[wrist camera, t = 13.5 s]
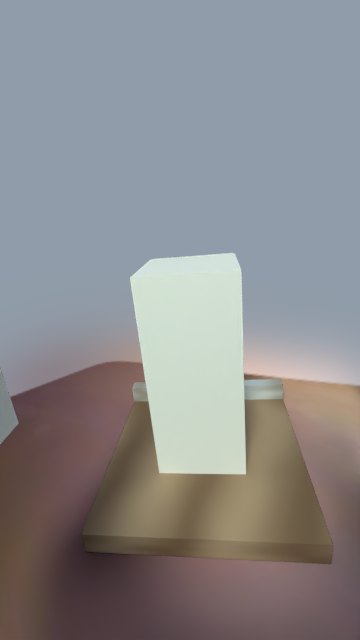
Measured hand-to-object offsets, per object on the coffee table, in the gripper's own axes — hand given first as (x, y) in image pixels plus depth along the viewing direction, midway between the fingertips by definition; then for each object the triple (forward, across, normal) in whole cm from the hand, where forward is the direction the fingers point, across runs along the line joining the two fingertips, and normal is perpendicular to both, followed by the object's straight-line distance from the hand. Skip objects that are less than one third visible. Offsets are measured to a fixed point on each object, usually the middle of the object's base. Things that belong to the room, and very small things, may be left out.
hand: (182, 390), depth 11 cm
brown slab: (+10, 0, -13) cm, 16 cm away
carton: (+10, 0, -12) cm, 15 cm away
